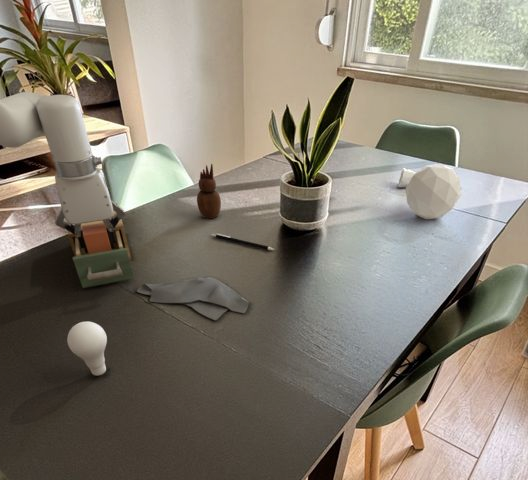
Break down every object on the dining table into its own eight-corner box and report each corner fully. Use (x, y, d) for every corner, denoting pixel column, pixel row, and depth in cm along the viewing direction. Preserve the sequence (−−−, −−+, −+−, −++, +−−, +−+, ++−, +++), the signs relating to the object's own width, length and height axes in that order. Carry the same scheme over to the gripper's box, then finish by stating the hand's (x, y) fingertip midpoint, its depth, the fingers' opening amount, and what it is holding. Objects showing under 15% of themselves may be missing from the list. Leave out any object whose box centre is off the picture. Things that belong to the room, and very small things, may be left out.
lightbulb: (80, 367, 78) (61, 319, 70) (115, 358, 79) (99, 310, 72) (83, 390, 73) (63, 341, 66) (120, 379, 75) (103, 331, 68)
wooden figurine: (225, 214, 127) (221, 162, 117) (214, 222, 123) (209, 168, 113) (207, 210, 130) (201, 158, 120) (195, 217, 126) (188, 164, 116)
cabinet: (131, 259, 107) (123, 225, 101) (79, 269, 104) (67, 234, 98) (125, 235, 118) (117, 203, 112) (77, 243, 115) (66, 210, 109)
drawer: (136, 289, 95) (129, 260, 91) (83, 299, 93) (73, 270, 88) (127, 252, 109) (120, 225, 104) (80, 260, 106) (71, 232, 101)
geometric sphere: (428, 238, 125) (436, 211, 111) (393, 206, 130) (396, 175, 116) (466, 207, 125) (479, 175, 110) (429, 175, 129) (437, 141, 115)
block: (89, 256, 96) (82, 235, 93) (88, 246, 99) (81, 226, 96) (112, 252, 97) (106, 231, 94) (110, 242, 101) (104, 222, 97)
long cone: (458, 200, 137) (398, 189, 139) (456, 194, 142) (397, 184, 144) (465, 182, 134) (403, 171, 136) (462, 177, 139) (403, 166, 141)
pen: (212, 235, 117) (212, 231, 116) (275, 250, 110) (275, 246, 109) (211, 237, 116) (210, 233, 115) (273, 252, 109) (273, 248, 108)
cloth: (262, 293, 95) (262, 285, 93) (231, 327, 86) (230, 318, 84) (168, 267, 104) (167, 259, 103) (131, 295, 95) (128, 287, 94)
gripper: (117, 155, 91) (135, 235, 103) (31, 166, 87) (60, 247, 99) (120, 166, 86) (139, 248, 98) (29, 178, 81) (60, 262, 93)
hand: (99, 247), depth 98 cm, fingers closed on block, 5 cm apart
